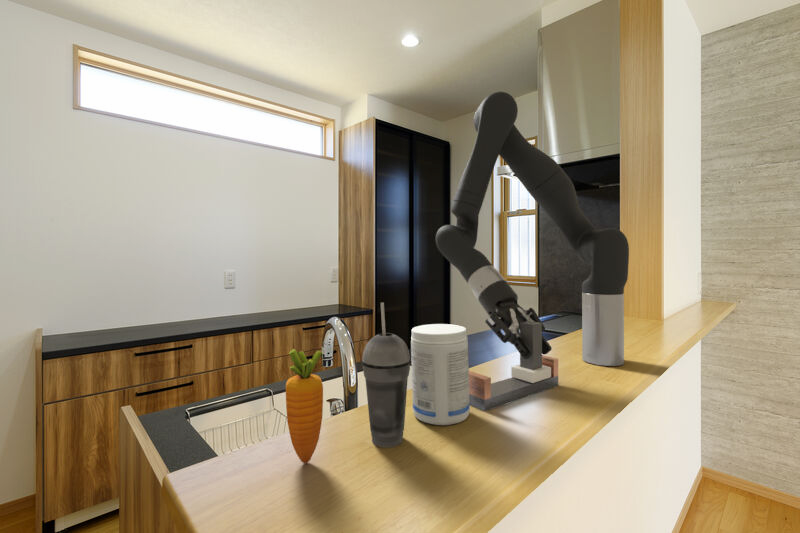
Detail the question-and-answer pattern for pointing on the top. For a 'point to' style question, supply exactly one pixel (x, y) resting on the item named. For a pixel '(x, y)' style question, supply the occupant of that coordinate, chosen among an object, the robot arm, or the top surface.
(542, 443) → the top surface
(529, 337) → the block
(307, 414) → the carrot
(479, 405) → the rail
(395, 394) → the beverage cup
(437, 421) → the supplement tub
